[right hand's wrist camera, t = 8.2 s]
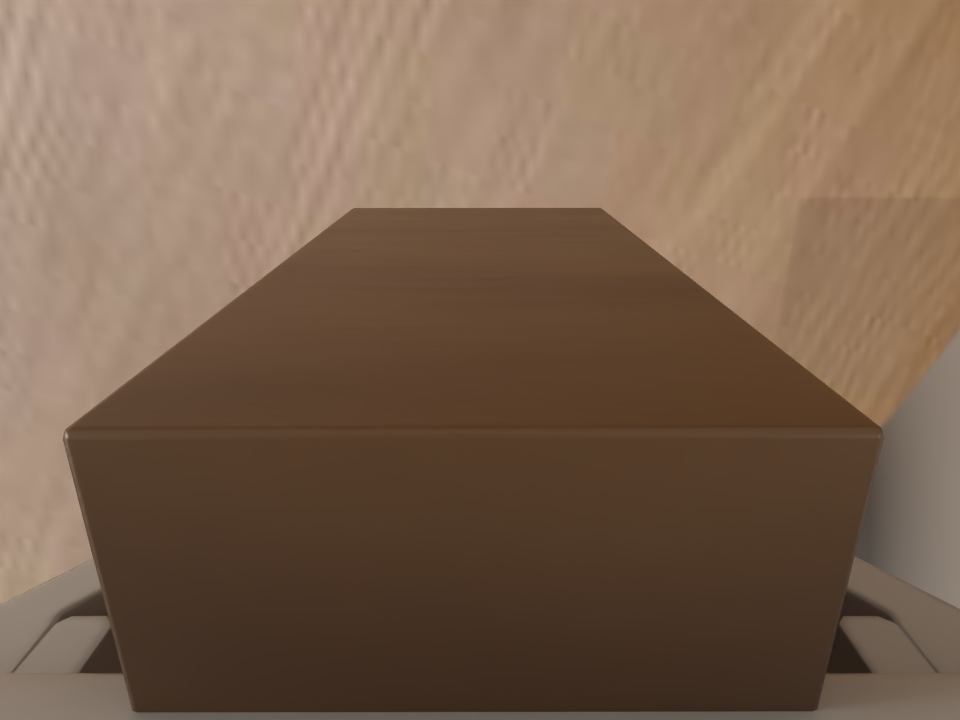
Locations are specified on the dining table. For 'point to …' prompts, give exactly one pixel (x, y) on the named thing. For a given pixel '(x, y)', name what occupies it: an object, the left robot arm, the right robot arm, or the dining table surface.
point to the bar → (474, 485)
